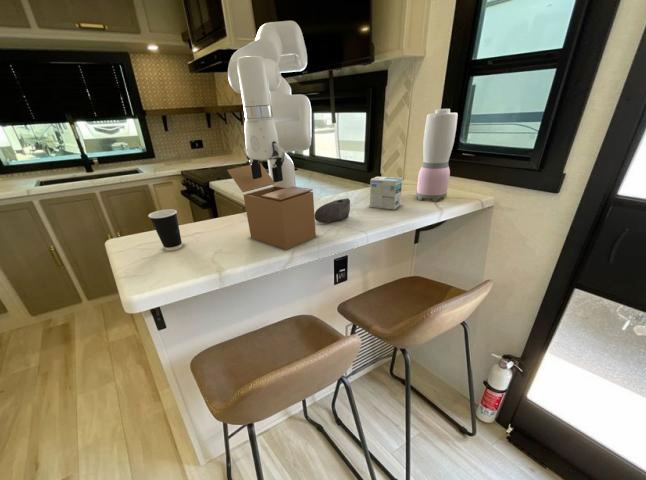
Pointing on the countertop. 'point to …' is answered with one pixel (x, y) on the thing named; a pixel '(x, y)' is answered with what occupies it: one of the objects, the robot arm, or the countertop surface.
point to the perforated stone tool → (333, 211)
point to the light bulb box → (385, 192)
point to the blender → (436, 154)
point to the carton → (281, 215)
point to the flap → (250, 178)
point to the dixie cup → (167, 228)
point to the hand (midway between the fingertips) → (267, 179)
